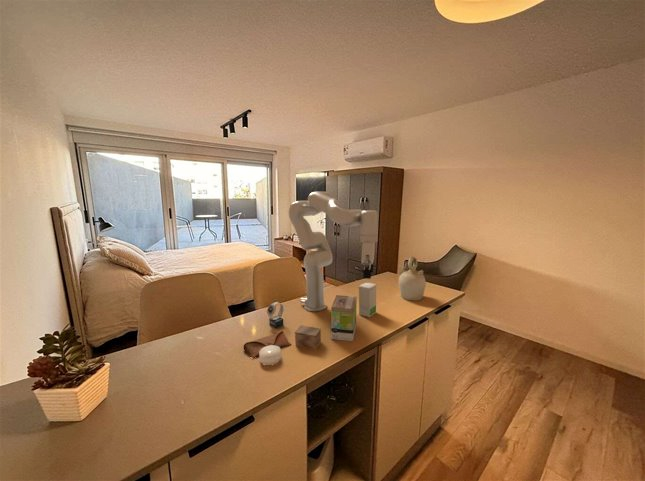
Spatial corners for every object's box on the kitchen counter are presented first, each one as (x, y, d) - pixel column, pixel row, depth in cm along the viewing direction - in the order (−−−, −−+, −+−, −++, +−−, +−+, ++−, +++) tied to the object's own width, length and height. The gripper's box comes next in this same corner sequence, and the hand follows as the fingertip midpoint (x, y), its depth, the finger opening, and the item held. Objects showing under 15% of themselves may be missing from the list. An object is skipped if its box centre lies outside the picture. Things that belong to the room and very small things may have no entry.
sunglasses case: (251, 360, 98) (246, 342, 100) (246, 361, 104) (242, 344, 106) (292, 344, 109) (288, 328, 110) (286, 346, 114) (282, 330, 116)
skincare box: (369, 318, 131) (369, 288, 129) (357, 314, 135) (357, 285, 133) (376, 312, 138) (377, 283, 136) (365, 309, 142) (365, 281, 139)
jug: (392, 295, 161) (394, 255, 157) (412, 291, 168) (413, 253, 164) (410, 304, 148) (412, 261, 144) (430, 299, 154) (433, 257, 150)
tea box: (354, 341, 110) (354, 308, 108) (330, 339, 112) (330, 307, 110) (356, 324, 125) (356, 295, 122) (335, 323, 127) (335, 294, 124)
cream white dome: (255, 363, 97) (254, 355, 96) (266, 351, 104) (266, 343, 104) (274, 368, 94) (274, 359, 93) (284, 355, 101) (284, 347, 101)
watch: (266, 325, 125) (264, 304, 123) (279, 320, 131) (278, 299, 129) (272, 329, 121) (271, 307, 120) (286, 323, 127) (285, 302, 125)
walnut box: (295, 346, 108) (294, 332, 107) (301, 338, 113) (300, 325, 112) (316, 350, 105) (315, 335, 104) (321, 342, 110) (320, 328, 109)
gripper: (362, 235, 125) (362, 269, 128) (357, 241, 109) (357, 280, 112) (378, 235, 123) (378, 270, 126) (375, 241, 107) (375, 281, 110)
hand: (368, 275), depth 119 cm, fingers open, 9 cm apart
